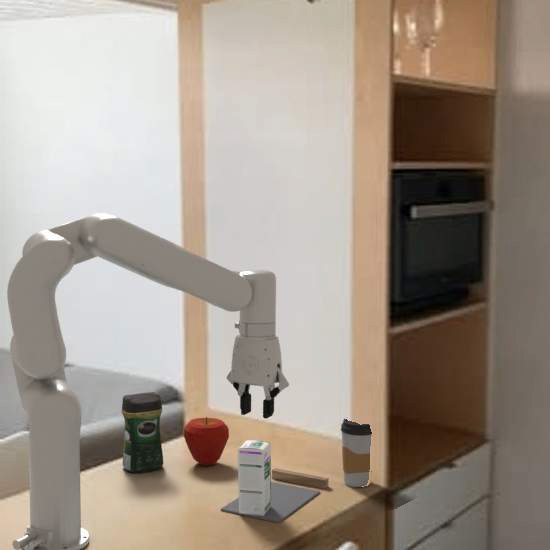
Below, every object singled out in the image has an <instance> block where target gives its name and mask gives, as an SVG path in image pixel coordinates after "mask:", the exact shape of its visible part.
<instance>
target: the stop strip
mask: <svg viewBox="0 0 550 550" xmlns="http://www.w3.org/2000/svg"><path fill="white" fill-rule="evenodd" d="M273 479H274V480H279V481H283V482H289V483H294V484H298V485H299V484H300V485H303V484H304V485H303V486H309V487H315V488H319V489H327V488H328V487H329V479H330V478H329V477H323V476H318V475H314V474H308V473H302V472H297V471H292V470H286V469H281V468H276V467H275V468H273V469H271V480H273Z"/></svg>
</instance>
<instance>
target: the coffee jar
mask: <svg viewBox="0 0 550 550" xmlns="http://www.w3.org/2000/svg"><path fill="white" fill-rule="evenodd" d="M121 401H122V404H121V413H122V417H123V418H124V439H123V450H122V467H123V468H124V470H125V471H127V472H131V473H134V474H135V473H144V472H145V473H146V472H150V471H155V470H159V469H161V468H163V465H164V454H163V445H162V438H161V430H160V429H161V425H160V423H161V422H160V419H161V415H162V413H163V405H162V404H163V403H162V399H161V396H160V394H158V393H157V392H155V391H150V392H140V393H139V392H138V393H135V394H126V395H124V396H122V400H121Z"/></svg>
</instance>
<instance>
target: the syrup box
mask: <svg viewBox="0 0 550 550" xmlns="http://www.w3.org/2000/svg"><path fill="white" fill-rule="evenodd" d="M271 444H272V443H271V442H270V441H266V440H257V439H256V440H254V439H253V440H252V439H251V440H245V442H243V444H241V445H240V446H239V447H238V448H237V459H238V461H237V468H238V469H237V470H238V472H237V474H238V476H237V477H238V478H237V481H238V498H239V513H242V514H248V515H258V516H264V515H265V513H266V512H267V511H268V509H269V508H270V507H271V482H272V464H271V463H272V462H271V461H272V460H271V459H272V456H271V454H272V453H271V448H272V447H271V446H272V445H271Z"/></svg>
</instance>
